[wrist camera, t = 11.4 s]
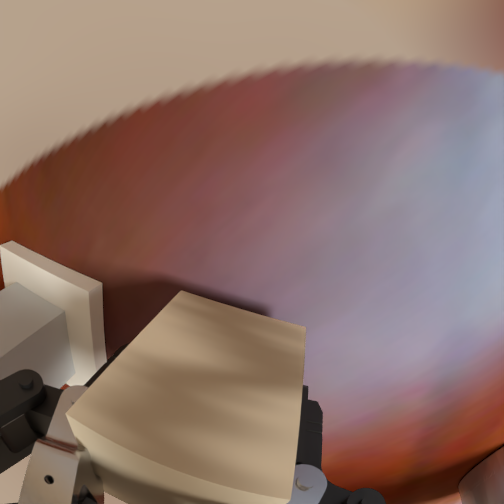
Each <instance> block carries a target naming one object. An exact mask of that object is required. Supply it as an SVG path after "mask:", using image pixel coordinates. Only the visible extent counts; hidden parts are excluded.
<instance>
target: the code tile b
mask: <svg viewBox="0 0 504 504" xmlns="http://www.w3.org/2000/svg"><path fill="white" fill-rule="evenodd" d="M0 254H1V263H2V271H3V278H4V284H5V288H7V287H8V286H10V285H12V284H14V283H16V282H18V283H19V284H21V285H22V286H24V287H25V288H27V289H29V290H30V291H32V292H33V293H35V294H37V295H38V296H40V297H42V298H43V299H45V300H47V301H48V302H50V303H52V304H54V305H55V306H57V307H59V308H61V309H62V310H64V311H65V315H66V323H67V330H68V337H69V343H70V348H71V354H72V359H73V364H74V369H75V374H74V375H73V376H72V377H71V378H70V379H69V380H68V381H67V382H66V384H68V385H69V386H74V385H82V386H83V385H84V384H86V382H87V381H88V380H89V379H90V378H91V377H92V376H93V375H94V374H95V373H96V372H97V371H98V370H99V369H100V368H101V367H102V366H103V365H104V364H105V363H107V359H106V348H105V336H104V320H103V292H102V282H99V281H97V280H95V279H92V278H90V277H88V276H85V275H83V274H81V273H78V272H76V271H74V270H72V269H69V268H67V267H65V266H63V265H61V264H59V263H56V262H54V261H52V260H50V259H48V258H46V257H44V256H42V255H40V254H38V253H36V252H34V251H31V250H29V249H27V248H26V247H24V246H22V245H20V244H18V243H16V242H14V241H10V242H7V243H4V244H2V245H0Z"/></svg>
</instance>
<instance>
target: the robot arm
mask: <svg viewBox="0 0 504 504" xmlns="http://www.w3.org/2000/svg"><path fill="white" fill-rule="evenodd" d="M129 344H130V343H128V344H126V345H124V346H122V347H120V348H119V349H118V350H117V351H116V352H115V353H114V354H113V356H111V357H110V358H109V359H108V360H107V363H105V364H104V365H103V366H102V367H101V368H100V369H99V370H98V371H97V372H96V373H95V374H94V375H93V376H92V377H91V378H90V379H89V380H88V381H87V382H86V384H84V385H83V386H82V385H74V386H71V387H68V388H66V389H65V390H62V389H58V388H55V387H52V386H49V385H45V384H44V383H43V380H42V377H41V376H40V374H39V373H37V372H36V371H34V370H30V369H23V370H19V371H17V372H15V373H13V374H11V375H10V376H8V377H6V378H4V379H2V380H0V474H1V473H2V472H4V471H5V470H7V469H8V468H10V467H11V466H13V465H14V464H16V463H18V462H19V461H20V460H22V459H24V458H25V457H27V456H28V455H30V454H31V457H30V460H29V463H28V467H27V470H26V474H25V478H24V481H23V486H22V489H21V493H20V498H19V502H18V503H9V504H104V490H103V481H102V479H101V477H100V476H98V475H96V474H95V473H94V471H93V469H92V467H91V456H90V453H89V451H88V449H87V448H86V447H84V446H82V445H81V444H79V443H77V441H76V438H75V436H74V434H73V431H72V429H71V426H70V424H69V421H68V419H67V416H66V414H65V413H66V412H67V411H68V410H69V409H70V408H71V407H72V406H73V404H74V403H75V402H76V401H77V400H78V399H79V398H80V397H81V396H82V395H83V393H84V392H85V391H86V390H87V389H88V388H89V387H90V386H91V385H92V384H93V382H94V381H95V380H96V379H97V378H98V377H99V376H100V375H101V374H102V373H103V372H104V371H105V370H106V368H107V367H108V366H109V365H110V364H111V363H112V362H113V361H114V360H115V359H116V358H117V357H118V356H119V355H120V353H121V352H122V351H123V350H124V349H125V348H126V347H127V346H128V345H129ZM21 415H22V416H21ZM19 416H20V417H19ZM18 417H19V418H18ZM16 418H17V419H16ZM14 419H15V420H14ZM322 419H323V412H322V410H321V408H320V406H319V404H318V402H317V401H312V400H308V386H305V385H303V389H302V402H301V414H300V425H299V435H298V445H297V454H296V463H295V471H294V479H293V486H292V494H291V500H290V501H289V502H288V503H287V504H386V502H385V500H384V498H383V496H382V495H381V494H380V493H379V492H378V491H376V490H374V489H370V488H361V489H358V490H356V491H354V492H351V491H348V490H346V489H343V488H340V487H338V486H335V485H333V484H332V483H330V482H329V481H328V480H327V479H326V477H325V475H324V474H323V472H322V469H321V459H322ZM13 420H14V421H13ZM11 421H12V422H11ZM9 422H10V423H9ZM8 423H9V424H8ZM6 424H7V425H6ZM4 425H5V426H4ZM3 426H4V427H3ZM1 427H2V428H1ZM458 489H459V493H460V497H461V501H462V504H504V447H502V448H501V449H499V450H498V451H496V452H495V453H493V454H492V455H490V456H489V457H488V458H486V459H485V460H484V461H482V462H481V463H480V464H478V465H477V466H476V467H475V468H473V469H472V470H471V471H470V472H469V473H468V474H467V475H466V476H465V477H464V478H463V479H462V480H461V482H460V483H459V486H458Z"/></svg>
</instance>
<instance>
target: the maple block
mask: <svg viewBox="0 0 504 504" xmlns="http://www.w3.org/2000/svg"><path fill="white" fill-rule="evenodd" d="M305 338H306V327H303V326H300V325H296V324H292V323H288V322H285V321H281V320H277V319H274V318H270V317H267V316H263V315H260V314H256V313H253V312H249V311H246V310H242V309H239V308H236V307H232V306H229V305H226V304H222V303H219V302H216V301H213V300H210V299H206V298H203V297H200V296H197V295H194V294H191V293H188V292H185V291H182V290H181V291H180V292H179V293H178V294H177V295H176V296H175V297H174V298H173V299H172V300H171V301H170V302H169V303H168V304H167V305H166V306H165V307H164V308H163V309H162V310H161V311H160V312H159V314H158V315H157V316H156V317H155V318H154V319H153V320H152V321H151V322H150V323H149V324H148V325H147V326H146V327H145V328H144V329H143V330H142V331H141V332H140V333H139V334H138V335H137V337H136V338H135V339H134V340H133V341H132V342H131V343H130V344H129V345H128V346H127V347H126V348H125V349H124V350H123V351H122V352H121V353H120V355H119V356H118V357H117V358H116V359H115V360H114V361H113V362H112V363H111V364H110V365H109V366H108V367H107V368H106V370H105V371H104V372H103V373H102V374H101V375H100V376H99V377H98V378H97V379H96V380H95V381H94V382H93V384H92V385H91V386H90V387H89V388H88V389H87V390H86V391H85V392H84V393H83V395H82V396H81V397H80V398H79V399H78V400H77V401H76V402H75V403H74V404H73V406H72V407H71V408H70V409H69V410H68V411H67V412H66V413H65V414H66V416H67V419H68V421H69V424H70V426H71V429H72V431H73V434H74V436H75V438H76V441H77V443H79V444H81V445H82V446H84V447H86V448H87V449H88V451H89V453H90V456H91V467H92V469H93V471H94V473H95V474H96V475H98V476H100V477H101V479H102V481H103V490H104V491H105V492H106V493H108V494H110V495H112V496H114V497H116V498H118V499H120V500H122V501H124V502H126V503H128V504H287V503H288V502H289V501H290V500H291V494H292V486H293V479H294V471H295V463H296V454H297V445H298V435H299V425H300V414H301V402H302V389H303V374H304V358H305Z"/></svg>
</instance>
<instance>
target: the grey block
mask: <svg viewBox="0 0 504 504" xmlns="http://www.w3.org/2000/svg"><path fill="white" fill-rule="evenodd" d="M23 369H30V370H34V371H36V372H37V373H39V374H40V376H41V377H42V380H43V383H44V384H45V385H49V386H52V387H55V388H58V389H60V388H61V387H62V386H63V385H64V384H65V383H66V382H67V381H68V380H69V379H70V378H71V377H72V376H73V375H74V374H75V369H74V364H73V359H72V354H71V348H70V343H69V337H68V330H67V323H66V315H65V311H64V310H62V309H61V308H59V307H57V306H55V305H54V304H52V303H50V302H48V301H47V300H45V299H43V298H42V297H40V296H38V295H37V294H35V293H33V292H32V291H30V290H29V289H27V288H25V287H24V286H22V285H21V284H19V283H18V282H16V283H14V284H12V285H10V286H8V287H7V288H5V289H3V290H1V291H0V380H2V379H4V378H6V377H8V376H10V375H11V374H13V373H15V372H17V371H19V370H23ZM21 416H22V415H21ZM19 417H20V416H19ZM19 417H18V418H19ZM16 419H17V418H16ZM14 420H15V419H14ZM14 420H13V421H14ZM11 422H12V421H11ZM9 423H10V422H9ZM9 423H8V424H9ZM6 425H7V424H6ZM4 426H5V425H4ZM4 426H3V427H4ZM1 428H2V427H1Z"/></svg>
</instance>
